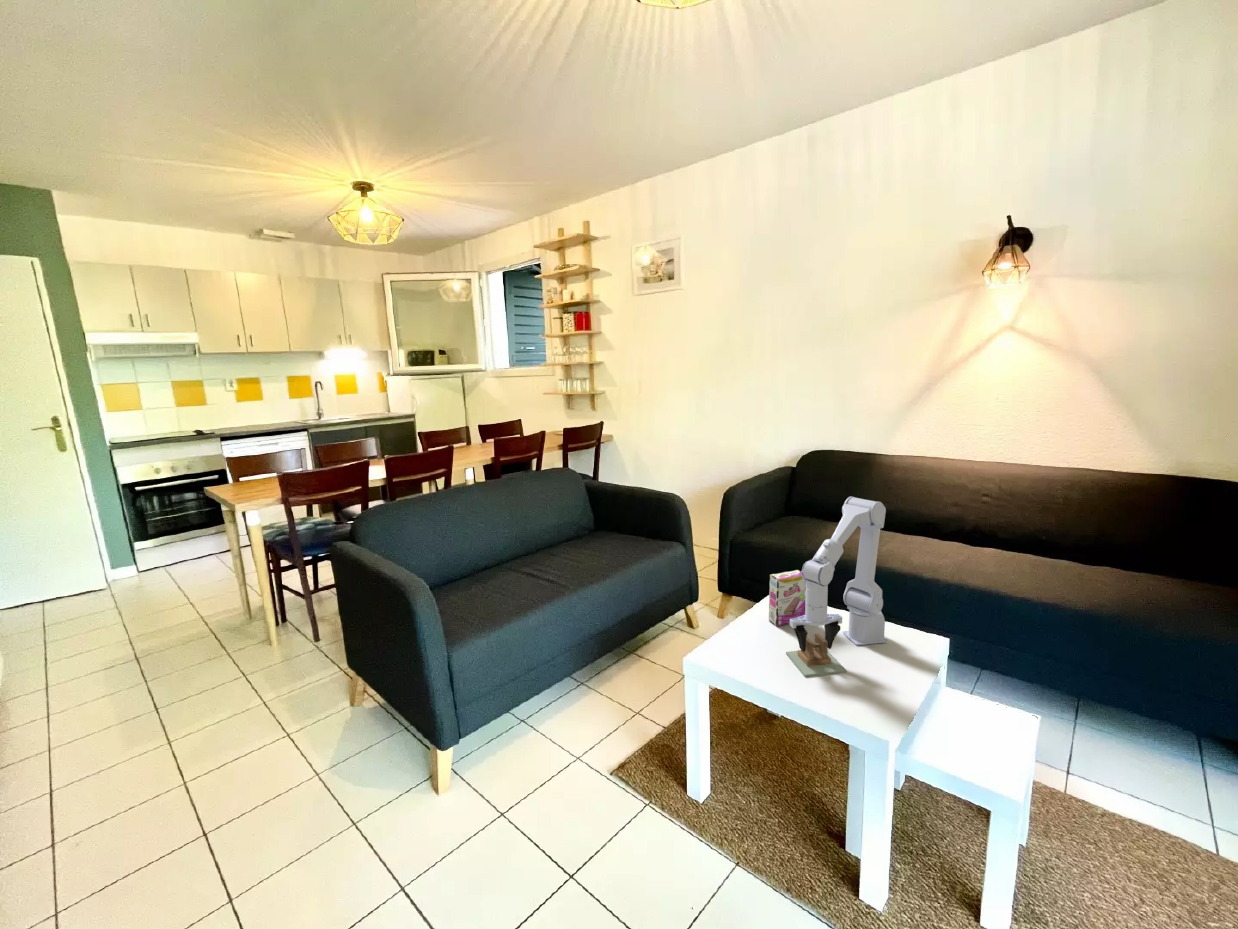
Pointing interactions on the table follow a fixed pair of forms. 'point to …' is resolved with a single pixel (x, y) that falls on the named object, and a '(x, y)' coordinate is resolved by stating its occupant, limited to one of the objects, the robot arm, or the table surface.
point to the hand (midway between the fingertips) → (815, 648)
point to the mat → (818, 669)
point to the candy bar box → (786, 597)
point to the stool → (815, 652)
